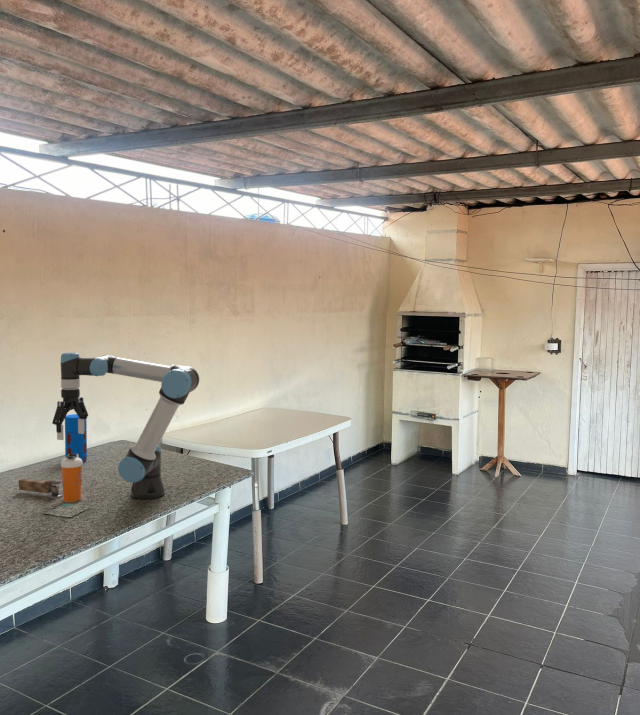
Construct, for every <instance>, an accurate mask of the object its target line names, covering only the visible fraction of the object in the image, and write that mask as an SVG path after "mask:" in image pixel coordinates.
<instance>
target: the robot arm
mask: <svg viewBox="0 0 640 715" xmlns="http://www.w3.org/2000/svg"><path fill="white" fill-rule="evenodd" d="M106 374H112V375H118V376H119V375H120V376H124V377H130V378H131V377H132V378H134V379H135V378H137V379H143V380H146V381H147V380H148V381H154V382H158V383H161V384H160V385H161V387H160V389H159V391H158V394H159V398H158V401H157V403H156V405H155V407H154V408H153V411H152V412H151V414H150V417H149V418H148V420H147V422H146V424H145V426H144V429H143V430H142V433H141V434H140V436H139V438H138V440H137V441H136V443H135V444H132V445H131V446H130V447H129V450H128V451H127V453H126V456H124V457H123V458H122V459H121V460H120V461H119V464H118V467H117V470H118V473H119V474H118V475H119V476H120V477H121V479H123V480H124V481H126V482H128V483H131V484H132V485H131V487H130V488H131V489H130V497H132V498H133V499H134V498H135V499H140V500H149V499H156V498H160V497H163V496H164V495H165V494H166V492H165V491H166V489H165V485H164V482H163V479H162V448H161V446H160V445H159V444H160V442H161V440H162V438H163V437H164V435H165V433H166V431H167V429H168V428H169V425H170V424H171V422H172V419H173V418H174V416H175V413H176V412H177V410H178V409H179V406H182V405H184V404H185V403H186V400H187V398H188V397H189V395H190V393H191V392H193V391H195V390H196V389H197V388H198V386H199V383H200V375H199V372H198V371H197V370H196V369H195V368H194V367H192V366H188V365H177V364H172V365H171V366H170V365H163V364H159V363H158V364H157V363H151V362H145V361H140V360H135V359H134V360H133V359H127V358H123V357H122V358H121V357H115V355H112V354H105V355H101V356H95V357H80V354H79V353H78V352H63V353H61V356H60V380H61V381H60V384H61V385H60V388H61V390H60V397H61V399H62V401H57V406H56V410H55V412H54V416H53V419H52V425H54V426H55V428H56V430H55V431H56V440H57V441H65V433H64V424H63V423H64V422H65V417H66V416H67V415H68V413H69V412H70V411H72V410H73V411H74V412H75V414H77V415H78V416H79V418H80V419H78V433H80V434H85V433H84V426H85V419H86V420H87V419H88V416H89V414H88V410H87V407H86V405H85V402H84V397H82V396H81V393H80V392H81V391H80V390H81V389H80V386H81V384H80V383H81V382H80V381H81V380H80V376H89V377H90V376H94V377H105V375H106ZM80 396H81V397H80Z"/></svg>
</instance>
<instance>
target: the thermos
mask: <svg viewBox="0 0 640 715" xmlns="http://www.w3.org/2000/svg"><path fill="white" fill-rule="evenodd" d="M78 419H80V418H79V416H78V415H77V413H74V414H73V413H72V414H67V415H66V417H65V419H64V446H65V447H64V450H65V455H64V456H65V458H66V457H67V456H68V454H78V458H80V459H81V460H82V463H83V464H84V463H86V462H87V460H88V443H87V442H88V441H87V440H88V438H87V437H88V435H87V434H88V433H87V431H88V430H87V428H88V427H87V426H88V425H87V419H85V426H84V433H85V434H80V433H78Z"/></svg>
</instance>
